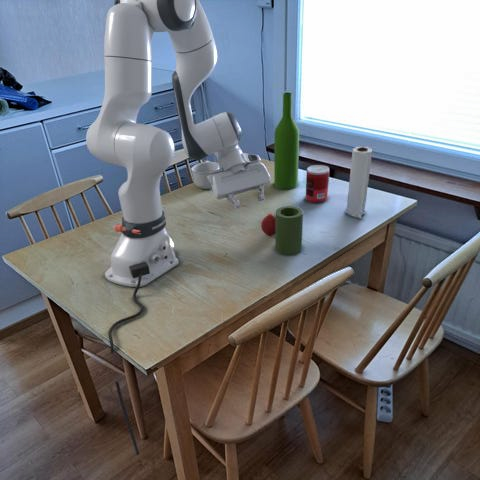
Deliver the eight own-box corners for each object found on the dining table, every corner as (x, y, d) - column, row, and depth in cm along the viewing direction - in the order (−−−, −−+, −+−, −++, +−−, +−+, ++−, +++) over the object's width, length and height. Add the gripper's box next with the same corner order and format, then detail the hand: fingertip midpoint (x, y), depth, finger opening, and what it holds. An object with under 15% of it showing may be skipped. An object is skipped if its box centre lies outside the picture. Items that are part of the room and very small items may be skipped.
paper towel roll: (348, 207, 160) (355, 145, 147) (366, 210, 158) (374, 146, 145) (343, 216, 155) (349, 152, 142) (361, 219, 153) (369, 154, 140)
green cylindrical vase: (296, 257, 136) (297, 219, 128) (271, 252, 139) (271, 215, 131) (305, 245, 141) (307, 208, 134) (281, 240, 144) (281, 204, 137)
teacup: (217, 192, 176) (215, 171, 171) (189, 191, 178) (187, 170, 173) (225, 178, 187) (224, 158, 182) (199, 177, 189) (197, 158, 184)
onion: (283, 235, 147) (283, 211, 142) (271, 242, 144) (271, 218, 139) (269, 230, 150) (269, 207, 145) (257, 236, 147) (257, 213, 142)
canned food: (330, 196, 168) (333, 166, 161) (321, 204, 163) (323, 174, 156) (311, 192, 172) (313, 163, 165) (301, 200, 166) (303, 170, 160)
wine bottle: (302, 184, 178) (305, 92, 158) (287, 191, 173) (289, 97, 153) (284, 178, 183) (285, 89, 163) (269, 185, 178) (269, 94, 158)
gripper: (208, 167, 144) (225, 207, 144) (263, 154, 152) (279, 191, 151) (202, 177, 150) (219, 215, 149) (256, 163, 158) (272, 200, 157)
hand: (250, 203), depth 150 cm, fingers open, 8 cm apart
